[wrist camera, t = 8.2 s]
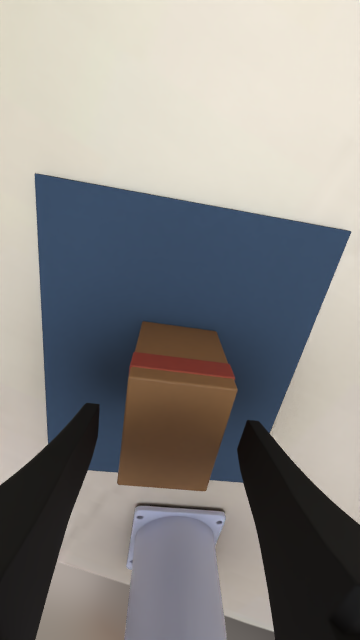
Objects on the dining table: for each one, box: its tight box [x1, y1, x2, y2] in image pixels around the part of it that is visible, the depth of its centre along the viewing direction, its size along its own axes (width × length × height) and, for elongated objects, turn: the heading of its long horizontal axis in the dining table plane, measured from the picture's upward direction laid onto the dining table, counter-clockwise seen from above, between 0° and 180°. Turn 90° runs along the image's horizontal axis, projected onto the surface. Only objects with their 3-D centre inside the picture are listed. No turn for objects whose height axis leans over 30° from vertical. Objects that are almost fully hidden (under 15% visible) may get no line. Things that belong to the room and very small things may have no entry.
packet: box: [117, 321, 237, 491], centre depth 14 cm, size 7×5×6 cm
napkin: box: [35, 173, 351, 483], centre depth 17 cm, size 20×16×1 cm
